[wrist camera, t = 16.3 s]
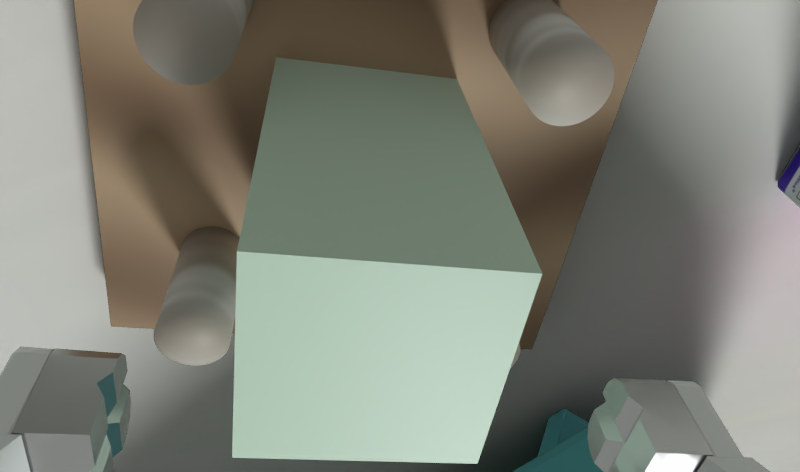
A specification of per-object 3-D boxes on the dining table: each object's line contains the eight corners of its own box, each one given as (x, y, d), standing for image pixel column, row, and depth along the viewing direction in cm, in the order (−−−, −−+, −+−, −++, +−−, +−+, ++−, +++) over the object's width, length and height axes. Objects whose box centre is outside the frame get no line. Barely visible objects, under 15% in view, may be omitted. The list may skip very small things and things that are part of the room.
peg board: (73, -199, 15) (-34, -193, 11) (664, -96, 18) (778, -57, 13) (122, 297, 24) (72, 419, 19) (522, 322, 26) (563, 435, 21)
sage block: (276, 57, 18) (237, 251, 10) (457, 78, 18) (542, 274, 11) (267, 214, 20) (232, 458, 13) (425, 227, 21) (477, 463, 14)
